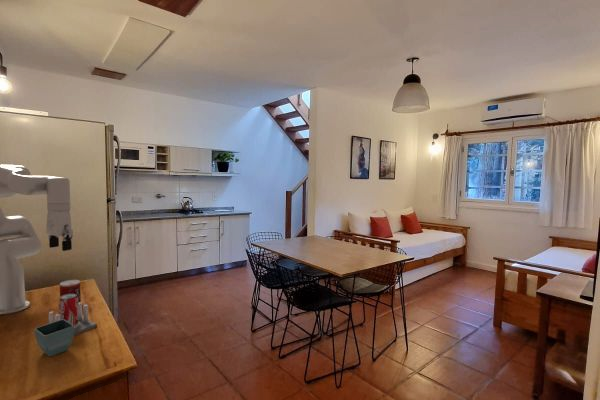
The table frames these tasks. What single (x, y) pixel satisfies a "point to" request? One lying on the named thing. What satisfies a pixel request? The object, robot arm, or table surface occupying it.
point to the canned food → (71, 288)
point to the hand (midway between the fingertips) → (60, 248)
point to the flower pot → (54, 337)
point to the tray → (82, 322)
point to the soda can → (69, 308)
